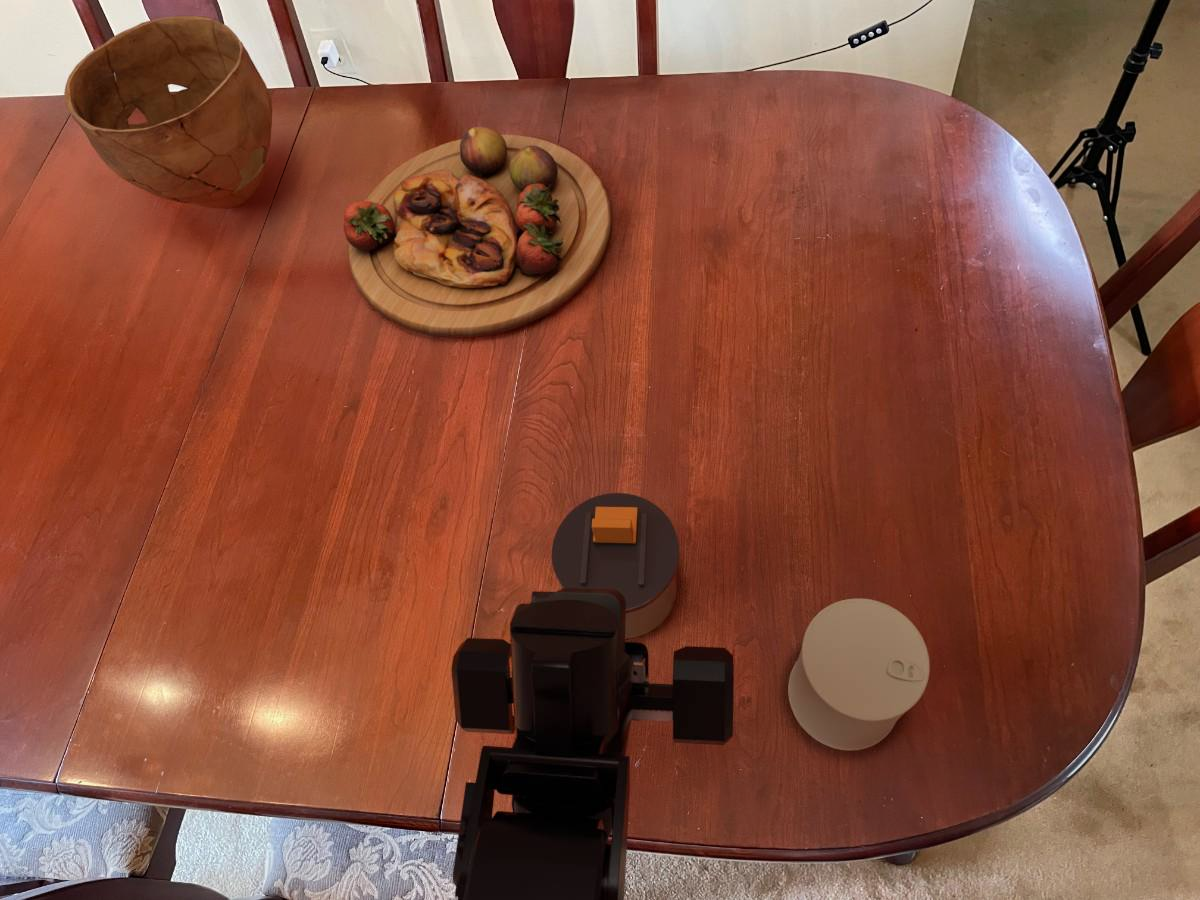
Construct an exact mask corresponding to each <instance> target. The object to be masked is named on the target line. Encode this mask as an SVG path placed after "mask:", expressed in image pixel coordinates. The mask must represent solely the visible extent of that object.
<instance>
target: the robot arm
mask: <svg viewBox="0 0 1200 900" xmlns="http://www.w3.org/2000/svg"><path fill="white" fill-rule="evenodd" d="M625 626H626V601H625V598H624V596H623V595H622V594H621V593H620V592H619V591H617V590H614V589H581V588H564V589H562V588H561V589H559V590H557V591H542V590H541V591H540V590H539V591H536V590H535V591H532V592H531V597H530V602H529V603H524V602H523V603H520V604H518V605H517V606H516V607H515V610H514V612H513V615H512V617H511V620H510V623H509V637H510V638H509V640H510V642H508V641H506V640H505V639H503V638H478V637H477V638H476V637H467V638H465V639H464V640H463V641H462V642H461V643H460V644H459V646H458V648H457V649H456V652H455V653H454V655H453V656H452V663H451V669H450V670H451V679H452V680H451V681H452V692H453V693H452V695H453V705H454V718H455V721H456V723H457V724H458V725H459V727H460V728H461V729H462V730H463V731H464V732H466V733H481V734H500V735H502V734H503V735H514V733H515V735H516V737H515V739H514V742H513V744H512V746H511V747H507V746H493V745H483V746H482V748H481V750H480V755H479V762H478V767H477V773H476V776H475V782H470V781H469V782H468V781H465V786H464V792H463V793H464V794H463V801H462V807H461V814H460V821H459V828H458V834H457V842H456V849H455V855H454V862H453V870H452V882H453V885H454V886H455V890H454V893H455V894H454V896H455V897H456V898H457V900H625V888H626V872H627V871H626V870H627V855H628V854H627V853H628V852H627V851H628V834H629V814H630V813H629V812H630V794H631V767H630V766H631V757H630V755H627V749H628V743H629V737H630V730H631V724H632V721H637V722H640V721H641V722H642V721H647V722H649V721H650V722H666V723H668V722H672V743H674V744H692V745H707V746H708V745H709V746H725V745H726V744H727V743H728V742H729V741H730V740H731V739H732V738H733V736H734V699H735V698H734V695H735V694H734V691H735V690H734V689H735V687H734V686H735V667H734V665H735V664H734V655H733V654H732V652H730V651H729V650H728V649H727V648H726V647H720V646H719V647H717V646H692V645H690V646H689V645H686V646H683V647H681V648H679V649H676V650H674V651H673V657H672V683H671V684H669V683H650V673H649V667H650V666H649V662H650V661H649V650H648V647H647V646H646V644H645V643H643V642H640V641H626V639H625ZM510 660H511V661H510ZM510 662H511V663H510ZM510 665H511V666H510ZM495 791H496V792H497V793H498V794H499V795H504V796H505V795H506V796H511V809H512V811H506V810H505V811H504V810H497V811H495V813H494V815H493V812H494V804H495V803H494V801H495ZM610 836H611V839H610V844H609V843H608V840H609V838H610Z"/></svg>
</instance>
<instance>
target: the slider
mask: <svg viewBox="0 0 1200 900" xmlns="http://www.w3.org/2000/svg"><path fill="white" fill-rule="evenodd" d="M637 514H638V508H637V507H596V510H595V519H592V530H593V533H594V535H593V542H595V543H636V533H637Z"/></svg>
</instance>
